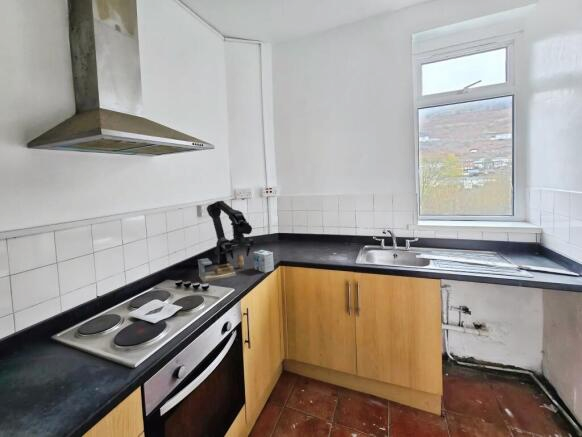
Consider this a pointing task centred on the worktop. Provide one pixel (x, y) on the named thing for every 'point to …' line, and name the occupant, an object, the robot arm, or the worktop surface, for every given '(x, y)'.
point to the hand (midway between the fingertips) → (240, 257)
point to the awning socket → (218, 272)
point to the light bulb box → (263, 261)
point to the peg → (240, 261)
